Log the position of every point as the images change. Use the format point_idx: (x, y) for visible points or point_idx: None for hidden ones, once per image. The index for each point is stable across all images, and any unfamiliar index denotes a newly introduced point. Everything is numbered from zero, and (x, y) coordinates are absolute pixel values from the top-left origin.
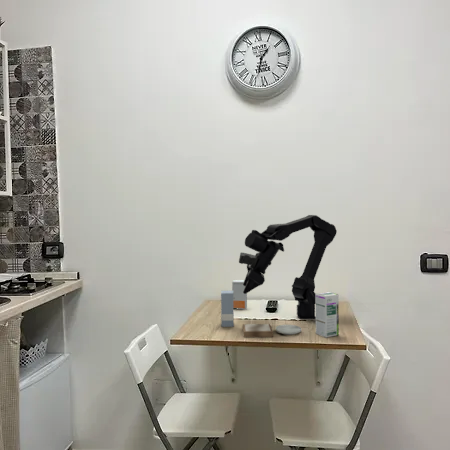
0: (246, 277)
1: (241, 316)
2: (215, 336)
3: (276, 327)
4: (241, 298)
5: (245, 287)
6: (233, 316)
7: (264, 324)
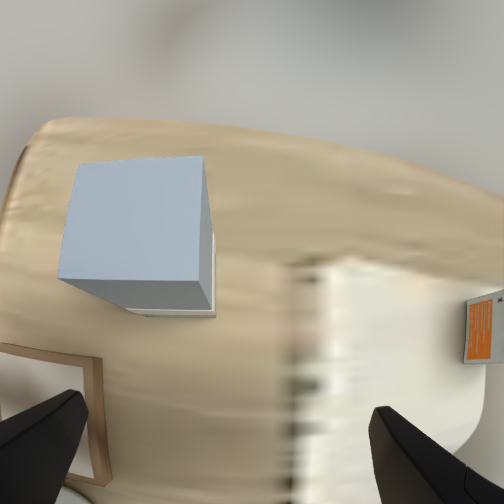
0: (423, 483)
1: (351, 358)
2: (27, 234)
3: (63, 493)
4: (499, 340)
5: (12, 416)
6: (129, 310)
7: (81, 459)
